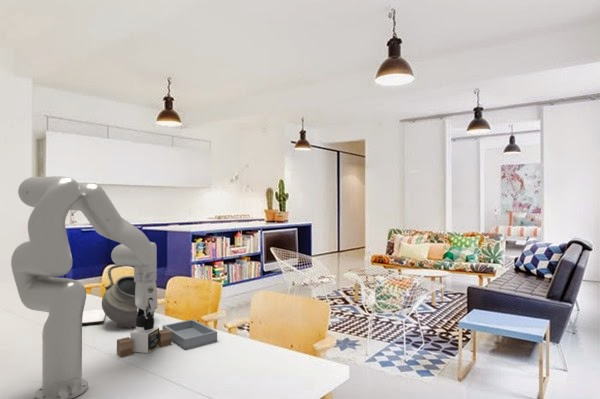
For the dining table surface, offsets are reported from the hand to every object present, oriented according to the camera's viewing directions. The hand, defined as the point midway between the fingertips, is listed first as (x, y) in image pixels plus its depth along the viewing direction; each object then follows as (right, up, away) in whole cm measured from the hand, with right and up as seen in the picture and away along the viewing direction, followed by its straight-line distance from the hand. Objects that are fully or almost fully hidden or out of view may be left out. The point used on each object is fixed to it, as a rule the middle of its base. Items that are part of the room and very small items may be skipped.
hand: (145, 326), depth 144 cm
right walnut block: (+5, -8, +5) cm, 11 cm away
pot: (-18, -8, +28) cm, 34 cm away
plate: (-40, -8, +32) cm, 53 cm away
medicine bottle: (0, -8, 0) cm, 8 cm away
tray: (+13, -8, +11) cm, 19 cm away
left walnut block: (-5, -8, -5) cm, 11 cm away
